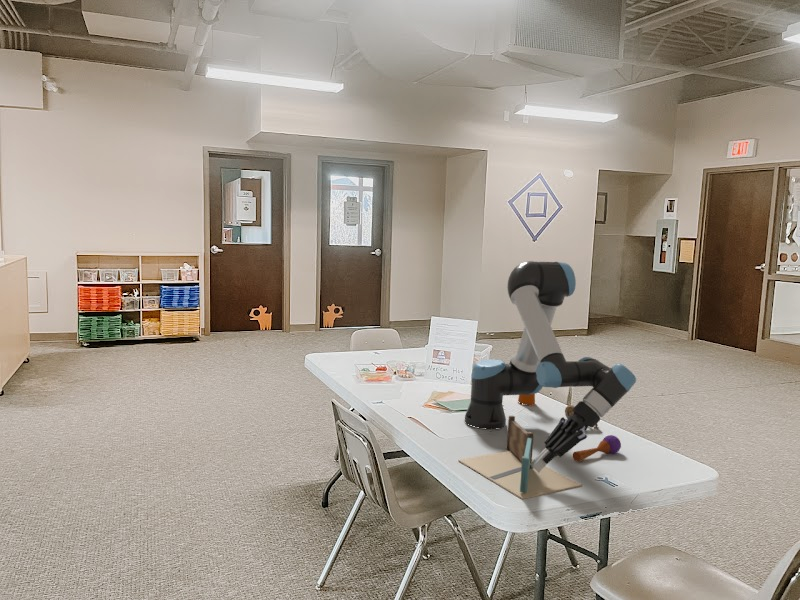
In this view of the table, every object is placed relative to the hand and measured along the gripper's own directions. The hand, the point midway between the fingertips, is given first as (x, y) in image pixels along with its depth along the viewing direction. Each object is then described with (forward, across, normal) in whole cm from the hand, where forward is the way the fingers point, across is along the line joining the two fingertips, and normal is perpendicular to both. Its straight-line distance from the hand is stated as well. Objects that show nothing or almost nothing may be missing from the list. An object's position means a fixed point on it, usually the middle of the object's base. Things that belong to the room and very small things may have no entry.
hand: (534, 468), depth 182 cm
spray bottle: (-15, +79, -23) cm, 84 cm away
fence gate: (+4, 0, 0) cm, 4 cm away
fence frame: (+1, +19, -5) cm, 19 cm away
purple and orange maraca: (-17, +19, -25) cm, 36 cm away
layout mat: (+5, +7, -1) cm, 8 cm away
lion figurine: (-22, +47, -31) cm, 60 cm away
